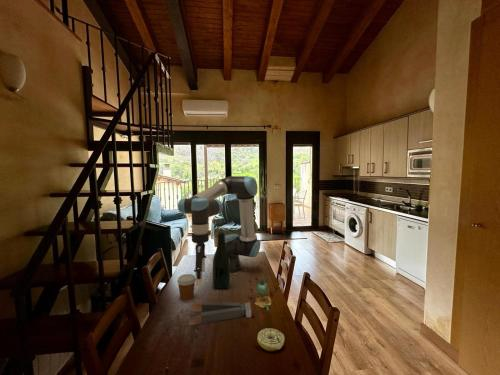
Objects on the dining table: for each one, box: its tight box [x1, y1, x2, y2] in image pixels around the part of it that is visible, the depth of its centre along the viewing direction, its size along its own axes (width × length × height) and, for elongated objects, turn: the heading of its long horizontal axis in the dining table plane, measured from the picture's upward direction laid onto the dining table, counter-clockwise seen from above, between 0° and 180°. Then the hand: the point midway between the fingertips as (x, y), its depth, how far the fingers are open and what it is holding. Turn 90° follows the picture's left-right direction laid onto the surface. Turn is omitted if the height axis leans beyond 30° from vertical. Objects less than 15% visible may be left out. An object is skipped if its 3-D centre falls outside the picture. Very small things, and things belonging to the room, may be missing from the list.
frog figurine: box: [254, 277, 273, 311], centre depth 125 cm, size 10×18×15 cm, turn 1°
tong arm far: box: [191, 301, 245, 313], centre depth 116 cm, size 2×25×4 cm, turn 87°
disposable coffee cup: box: [176, 273, 196, 302], centre depth 128 cm, size 10×10×12 cm
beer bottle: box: [211, 230, 231, 291], centre depth 141 cm, size 10×10×33 cm
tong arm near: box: [188, 306, 246, 326], centre depth 110 cm, size 2×25×4 cm, turn 105°
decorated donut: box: [256, 327, 285, 352], centre depth 97 cm, size 10×11×4 cm
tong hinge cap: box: [244, 302, 252, 319], centre depth 115 cm, size 7×2×4 cm, turn 6°
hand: (200, 278), depth 111 cm, fingers open, 13 cm apart
